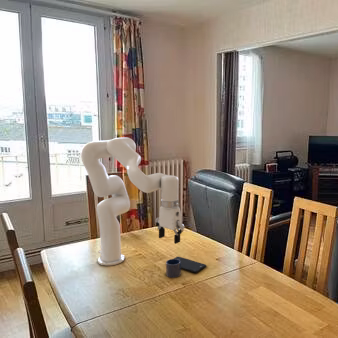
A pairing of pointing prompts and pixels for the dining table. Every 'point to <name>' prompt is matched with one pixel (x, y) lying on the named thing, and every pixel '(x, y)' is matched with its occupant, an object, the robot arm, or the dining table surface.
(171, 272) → the blue plastic cup
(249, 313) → the dining table surface
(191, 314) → the dining table surface
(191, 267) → the cell phone
